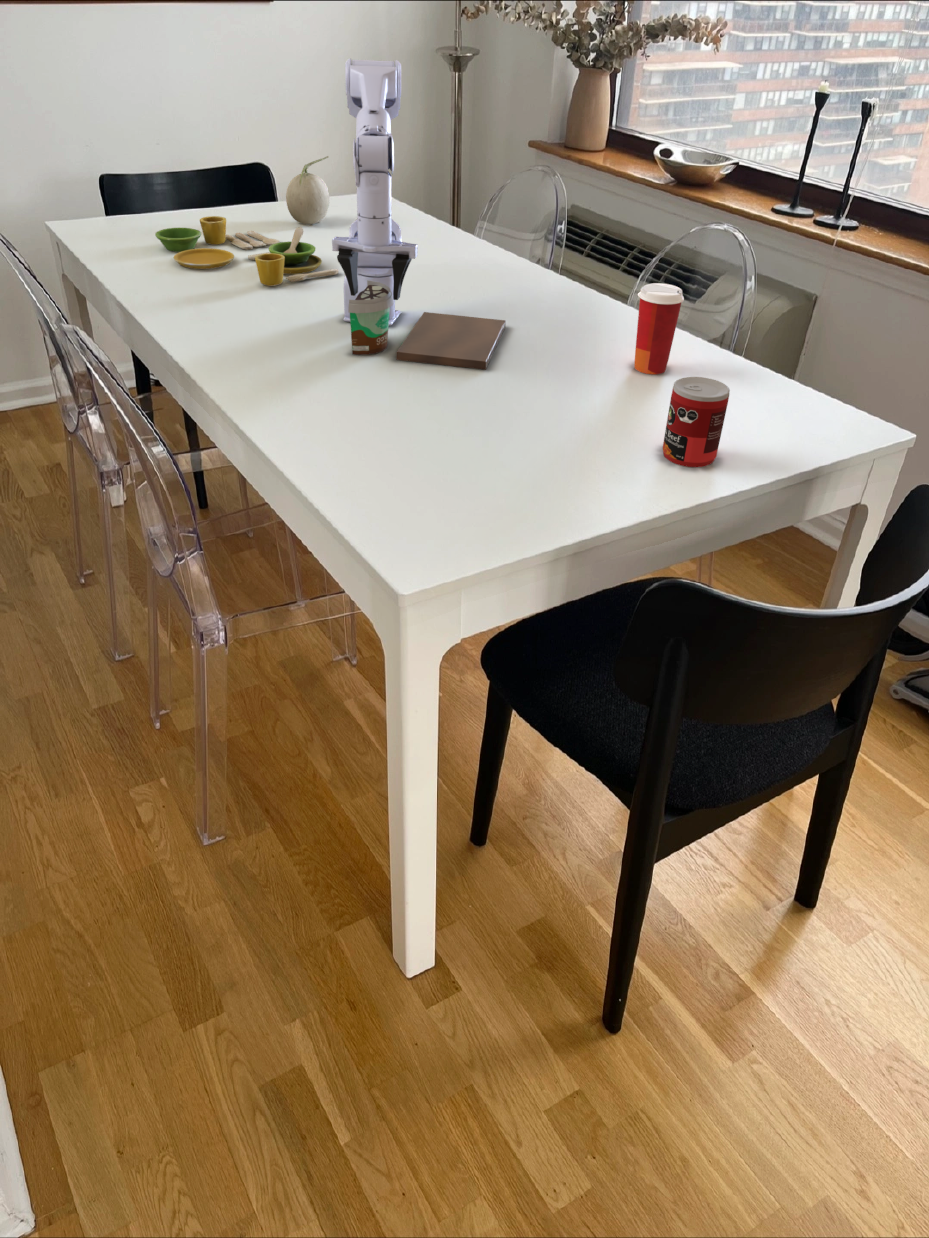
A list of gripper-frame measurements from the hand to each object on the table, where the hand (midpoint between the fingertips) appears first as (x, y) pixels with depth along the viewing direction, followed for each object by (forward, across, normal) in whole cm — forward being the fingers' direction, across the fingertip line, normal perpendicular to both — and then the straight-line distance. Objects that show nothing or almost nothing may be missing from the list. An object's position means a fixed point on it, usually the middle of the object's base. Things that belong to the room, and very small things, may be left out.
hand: (375, 296), depth 172 cm
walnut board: (+9, +13, +6) cm, 17 cm away
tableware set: (+9, -42, +42) cm, 60 cm away
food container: (+9, 0, 0) cm, 9 cm away
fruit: (+9, -38, +77) cm, 86 cm away
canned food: (+10, +56, -30) cm, 64 cm away
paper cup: (+9, +49, +4) cm, 50 cm away
